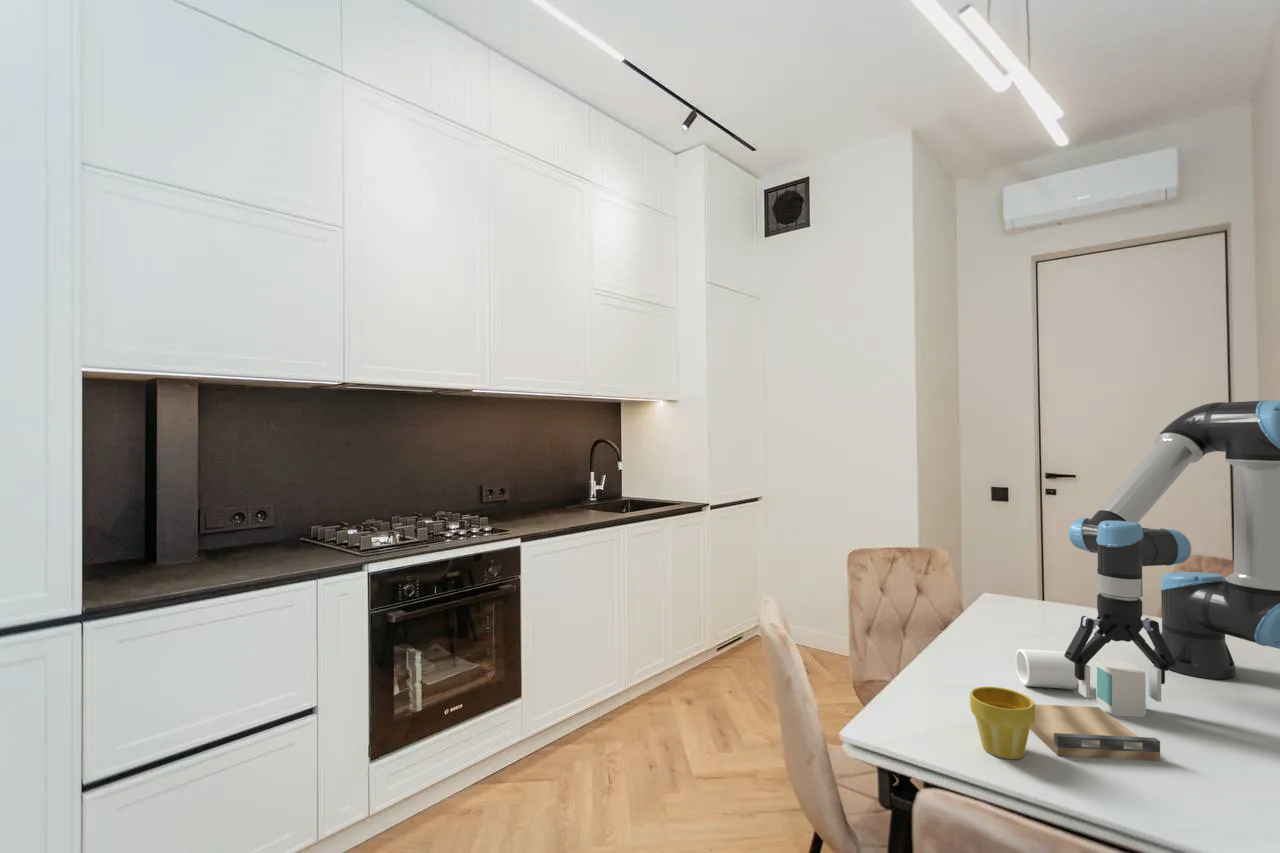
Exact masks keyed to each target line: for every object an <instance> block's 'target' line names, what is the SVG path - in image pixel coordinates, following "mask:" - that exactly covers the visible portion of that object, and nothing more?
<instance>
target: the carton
mask: <svg viewBox="0 0 1280 853" xmlns="http://www.w3.org/2000/svg"><path fill="white" fill-rule="evenodd" d="M1146 691H1147V690H1146V672H1145V671H1143V670H1142V669H1139V668H1138V667H1136V666H1135V665H1132V664H1131V663H1129V662H1127V661H1113V660H1111V661H1109V660H1095V700H1096V701H1095V702H1096V704H1097V705H1099V706H1100V707H1102V708H1103V709H1104V710H1106V711H1107V710H1108V711H1107V712H1109V713H1110V714H1111V713H1112V714H1111V715H1113V716H1118V715H1125V716H1126V717H1141V716H1146V717H1147V711H1146V710H1147V709H1146V708H1147V707H1146V706H1147V704H1146V703H1147V702H1146V696H1147V695H1146ZM1125 716H1124V717H1125Z"/></svg>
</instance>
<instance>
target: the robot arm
mask: <svg viewBox="0 0 1280 853" xmlns="http://www.w3.org/2000/svg"><path fill="white" fill-rule="evenodd" d="M1154 443H1155V446H1154V447H1153V448H1152V449H1151V450H1150V452H1149V453H1148V454H1147V455H1146V456H1145V457H1144V458H1143V459H1142V460H1141V462H1140V463H1139V464H1138V465H1137V466H1136V467H1135V468H1134V469H1133V471H1131V473H1130V474H1129V475H1128V476H1127V477H1126V478H1125V480H1124V481H1123V482H1122V483H1121V484H1120V485H1119V487H1118V488H1117V489H1116V490H1115V491H1114V492H1113V493H1112V494H1111V495H1110V497H1109V498H1108V499H1107V500H1106V501H1105V502H1104V504H1102V506H1101V507H1100V508H1099V510H1097V512H1096V513H1094V515H1093V516H1092V517H1090V518H1085V517H1084V518H1083V517H1082V518H1077V519H1076V520H1074V521H1072V522H1071V524H1070V527H1069V529H1068V537H1069V538H1068V539H1069V541H1070V542H1071V544H1072V545H1073V546H1074V547H1075V548H1077V549H1080V550H1083V551H1086V552H1089V553H1093V554H1097V570H1096V571H1097V579H1096V581H1097V584H1096V586H1097V592H1099V593H1098V594H1097V596H1096V611H1097V613H1098V614H1097V617H1096V618H1094V617H1093V618H1092V617H1088V616H1086V615H1081V617H1080V624H1079V625H1080V626H1079V627H1078V629H1077V631H1076V633H1075V635H1074V636H1073V638H1072V640H1071V642H1070V644H1069V645H1068V648H1067V649H1066V651H1065V652H1066V653H1065V655H1064V656H1065V657H1066V658H1067V659H1069V660H1070V661H1072V662H1074V663H1075V677H1076V678H1077V679H1078V693H1079V694H1080V695H1081V696H1083V697H1084V698H1085V699H1090V698H1091V666H1090V665H1089V662H1090V661H1091V660H1092V658H1094V656H1095V655H1097V653H1099V651H1100V650H1102V648H1103V647H1104V646H1105V645H1106V644H1109V643H1110V642H1112V641H1114V642H1121V641H1123V642H1127V643H1129V642H1133V643H1134V645H1136V646H1137V648H1138V649H1139V650H1140V651H1141V652H1142V653H1143V655H1144V656H1145V657H1146V658H1147V659H1148V660H1149V661H1150V662H1151V663H1152V664H1148V665H1147V670H1148V671H1147V672H1148V673H1147V685H1148V686H1147V695H1148V697H1149V698H1151V699H1153V700H1154V701H1155V702H1162V685H1165V683H1166V672H1167V671H1172V672H1175V673H1179V674H1183V675H1187V676H1191V677H1198V678H1203V679H1210V680H1211V679H1212V680H1225V679H1226V680H1229V679H1233V678H1235V677H1236V676H1237V674H1236V672H1237V670H1236V664H1235V662H1234V659H1233V657H1232V654H1231V652H1230V649H1229V647H1228V644H1227V642H1226V636H1231V637H1233V638H1234V637H1235V638H1238V639H1240V640H1245V641H1248V642H1251V643H1255V644H1256V645H1259V646H1262V647H1270V648H1274V649H1278V650H1280V400H1270V399H1267V400H1252V401H1251V400H1250V401H1229V402H1228V401H1227V402H1224V401H1222V402H1221V401H1219V402H1218V401H1217V402H1209V403H1206V404H1202V405H1199V406H1197V407H1194V408H1191V409H1190V410H1188V411H1186V412H1184V413H1183V414H1182V415H1180V416H1179V417H1177V418H1175V419H1174V420H1173V421H1171V422H1170V423H1169V424H1168V425H1167V426H1166V427H1164V429H1163V430H1162V431H1161V432H1160V433H1159V434H1158V435H1157V436H1156V437H1155V441H1154ZM1215 452H1220V453H1221V452H1223V453H1224V452H1225V461H1226V462H1228V463H1229V464H1230V465H1231V466H1232V467H1233V468H1234V478H1233V479H1234V484H1233V485H1234V488H1233V490H1234V491H1233V494H1234V495H1233V496H1234V497H1233V499H1234V500H1233V501H1234V502H1233V506H1234V507H1233V508H1234V509H1233V510H1234V512H1233V514H1234V516H1233V518H1234V519H1233V520H1234V521H1233V524H1234V526H1233V572H1232V573H1230V574H1229V575H1227V576H1224V575H1223V574H1221V573H1220V574H1219V573H1214V572H1213V573H1211V572H1200V571H1199V572H1197V571H1178V572H1177V571H1176V572H1173V571H1172V572H1167V573H1165V574H1164V575H1163V576H1162V578H1161V588H1160V592H1161V594H1160V595H1161V597H1160V598H1161V630H1160V625H1159V622H1158V621H1156V620H1154V619H1152V618H1150V617H1146V618H1145V619H1142V617H1143V600H1142V599H1141V598H1142V597H1143V595H1144V594H1143V593H1144V592H1143V567H1154V566H1156V567H1157V566H1167V567H1168V566H1169V567H1170V566H1173V565H1179V564H1182V563H1185V562H1186V561H1188V559H1189V558H1190V556H1191V555H1192V544H1191V542H1190V540H1189V538H1188V537H1187V536H1186V535H1185V534H1183V533H1182V532H1181V531H1179V530H1176V529H1174V528H1173V529H1171V528H1170V529H1168V528H1159V529H1158V528H1157V529H1156V528H1150V527H1149V528H1147V527H1142V525H1141V524H1140V523H1139V522H1140V521H1141V520H1142V519H1143V518H1144V517H1145V516H1146V515H1147V513H1148V512H1149V511H1150V510H1151V509H1152V508H1153V507H1154V506H1155V504H1156V503H1157V502H1158V500H1160V498H1162V496H1163V495H1164V494H1165V493H1166V491H1167V490H1169V488H1171V486H1172V484H1174V483H1175V481H1176V480H1177V479H1178V478H1179V477H1180V476H1181V475H1182V473H1183V472H1184V471H1185V470H1186V469H1187V468H1188V467H1189V466H1190V464H1194V463H1197V462H1199V461H1200V460H1202V458H1203V457H1204V456H1205V455H1208V454H1209V453H1215ZM1096 627H1098V629H1097V630H1095V629H1096ZM1142 629H1144V630H1145V631H1146V634H1147V635H1148V637H1149V639H1150V640H1151V643H1152V646H1154V648H1152V647H1151V646H1150V645H1149V644H1148V643H1147V642H1146V640H1145V638H1144V637H1143V636H1142V635H1141V634H1140V632H1141V630H1142ZM1094 630H1095V632H1094V633H1093V631H1094ZM1092 634H1093V636H1092V637H1091V635H1092ZM1090 637H1091V639H1090Z"/></svg>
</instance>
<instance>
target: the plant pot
mask: <svg viewBox="0 0 1280 853" xmlns="http://www.w3.org/2000/svg"><path fill="white" fill-rule="evenodd" d="M969 699H970V700H969V702H970V704H969V705H970V711H971V714H972V715H973V716H974V717H975V720H976V725H977V729H978V733H979V736H980V741H981V745H982V748H983V749H984V750H985V751H986V752H987V753H988V754H990V755H992V756H995V757H997V758H1001V759H1007V760H1019V759H1021V758H1023V757H1024V756H1025V753H1026V748H1027V743H1028V739H1029V733H1030V731H1031V730H1030V726H1031V725H1033V724H1034V722H1035V705H1034V704H1035V703H1034V701H1033V699H1032V698H1031V697H1029V696H1028V695H1027V694H1024V693H1021V692H1019V691H1016V690H1014V689H1009V688H1004V687H997V686H979V687H975V688H973V689H972V690H970V692H969Z"/></svg>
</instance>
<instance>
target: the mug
mask: <svg viewBox="0 0 1280 853" xmlns="http://www.w3.org/2000/svg"><path fill="white" fill-rule="evenodd" d="M1065 653H1066V651H1060V650H1043V649H1027V648H1019V649H1018V650H1017V651H1016V653H1015V658H1014V659H1015V661H1014V662H1015V671H1016V674H1017V677H1018V680H1019V682H1020V683H1021V684H1022V685H1023V686H1025V687H1032V688H1033V687H1034V688H1036V687H1037V688H1051V689H1064V690H1065V689H1066V690H1074V689H1076V688H1077V685H1078V684H1079V679H1077V678H1076V677H1075V663H1074V662H1072V661H1070V660H1069V659H1067V658H1066V657H1065V656H1064V655H1065Z"/></svg>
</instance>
